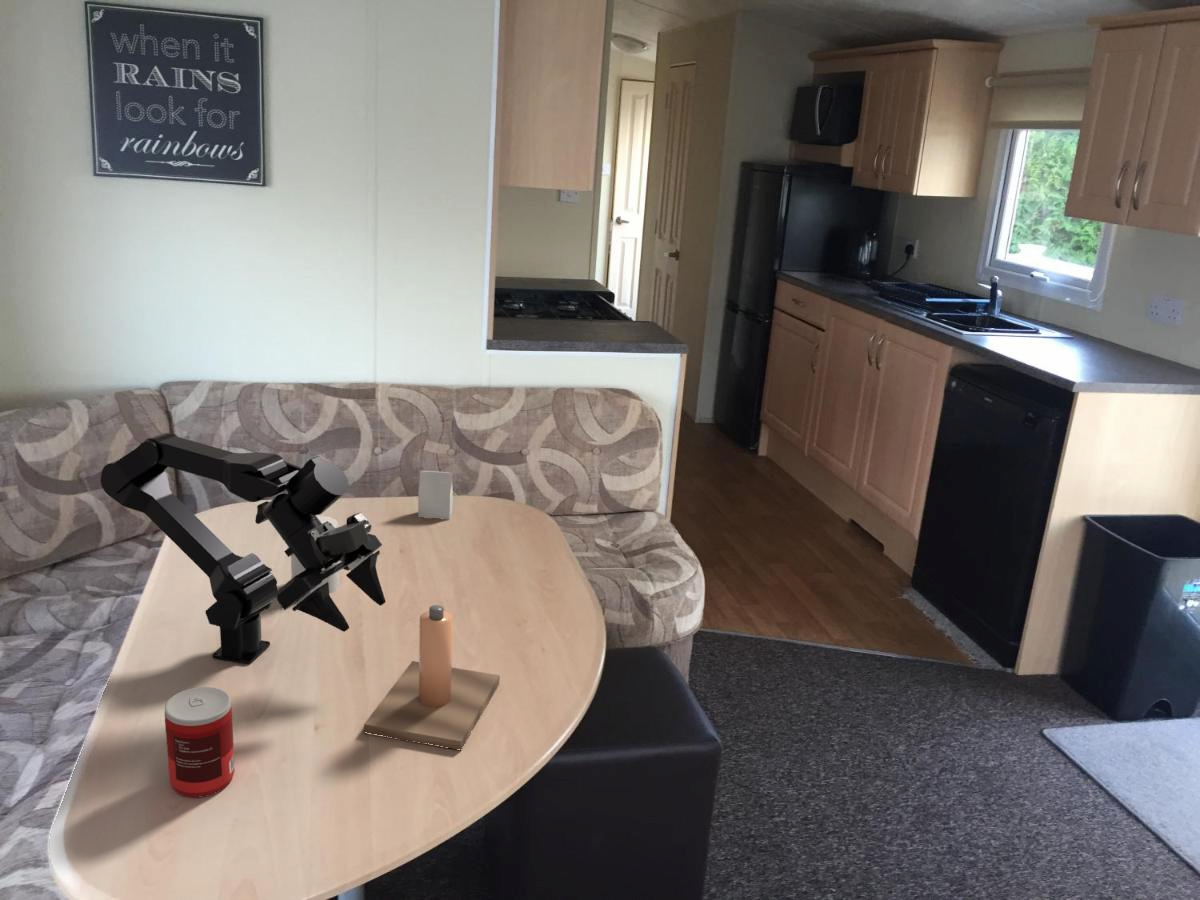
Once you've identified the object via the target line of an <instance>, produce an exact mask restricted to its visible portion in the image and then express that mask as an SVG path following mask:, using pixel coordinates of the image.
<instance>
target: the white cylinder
mask: <svg viewBox="0 0 1200 900" xmlns="http://www.w3.org/2000/svg"><path fill="white" fill-rule="evenodd" d="M316 516H317V518H318V519H319V520H320V522H321V523H322V524H323V523H325V522H327V521H328V522H330V523H331V524H332V525H333V526H334V527H335V528H338V527H339V521H338V520H336V519H335V518H333V517H329V516H325V515H316ZM334 564H335V563H334ZM290 566H291V567H290V568H291V579H292V578H293V577H295V576H296V575H298V574H300V573H301V572H303V571H305V568H304V567H303V566H302V564H301V563H300V562H299V560H298V559H297V558H296V556H295V555H294V554H293V555H291V556H290ZM323 570H325V568H324V569H322V571H323ZM339 572H340V570H339V571H338V572H336V573H335V574H333V575H331V576H330V577H328V578H326V579H325V580H323V581H322V583H320V584H321V585H324V584H325V583H327V582H328V583H329V594H332V593H334V592H335V591H337V590H338V588H339V587H340V578H339V577H340V574H339Z"/></svg>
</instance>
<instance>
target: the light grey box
mask: <svg viewBox="0 0 1200 900" xmlns="http://www.w3.org/2000/svg"><path fill="white" fill-rule="evenodd" d="M453 484H454V483H453V472H447V471H433V470H420V472H419V481H418V503H417V505H418V506H417V507H418V508H417V509H418V510H417V511H418V512H417V515H418V516H417V518H418V517H424V518H423V519H432V518H441V519H440V520H448V519H451V518H450V516H451V517H452V515H453V501H454V500H453V495H454V485H453ZM451 514H452V515H451ZM442 518H443V519H442ZM445 518H446V519H445Z"/></svg>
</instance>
